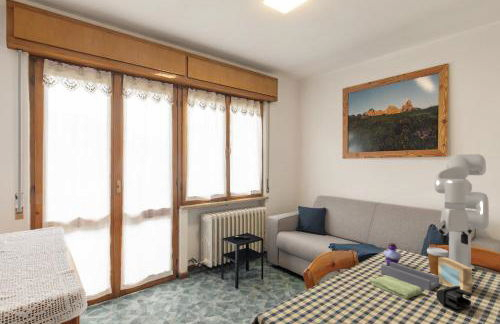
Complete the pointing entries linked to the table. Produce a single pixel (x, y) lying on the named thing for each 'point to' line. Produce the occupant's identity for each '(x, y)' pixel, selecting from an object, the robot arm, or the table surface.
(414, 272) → the picture stand
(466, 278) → the wooden picture frame
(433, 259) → the disposable coffee cup
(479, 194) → the robot arm
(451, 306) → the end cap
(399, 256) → the potion bottle
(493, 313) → the table surface
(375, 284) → the washcloth
